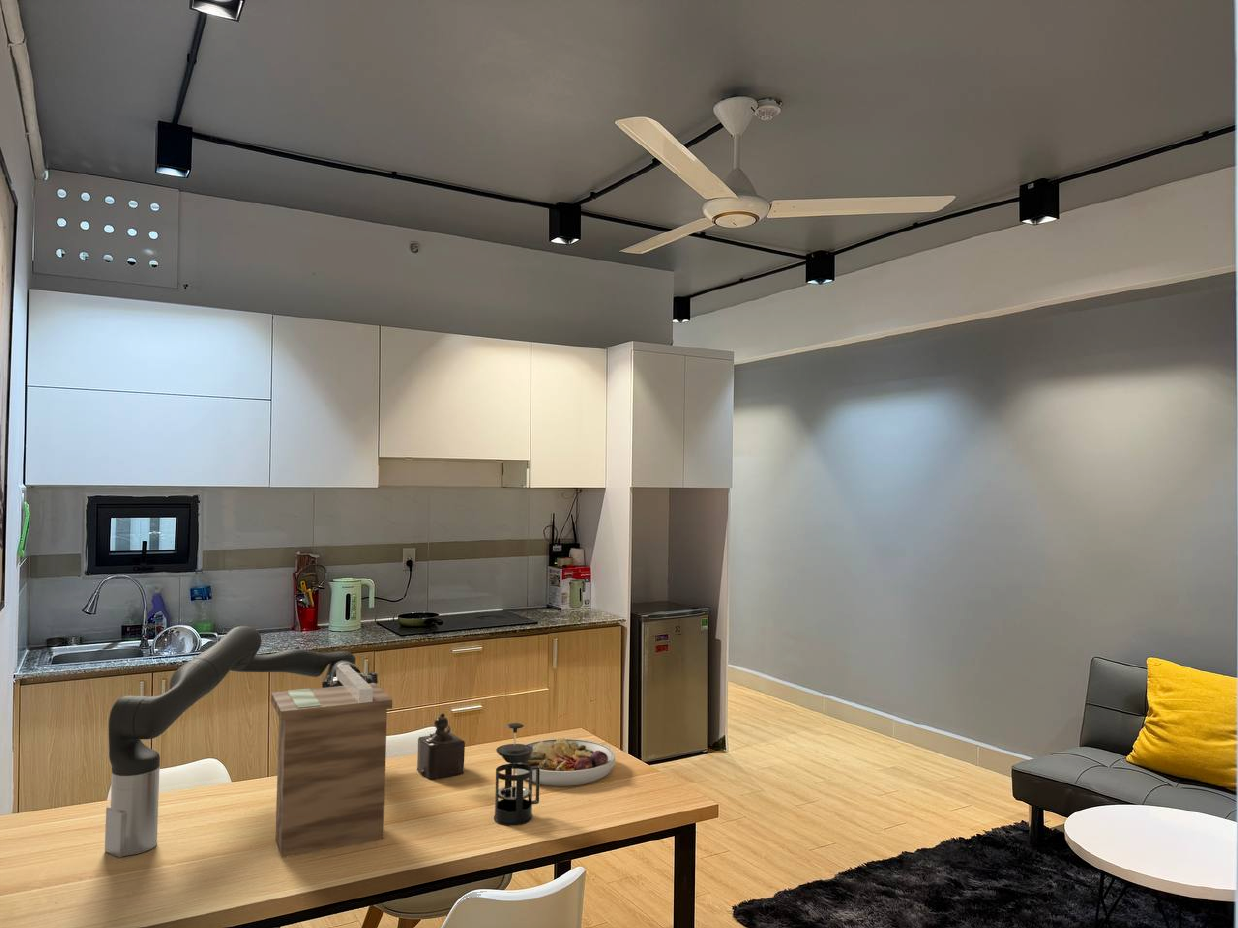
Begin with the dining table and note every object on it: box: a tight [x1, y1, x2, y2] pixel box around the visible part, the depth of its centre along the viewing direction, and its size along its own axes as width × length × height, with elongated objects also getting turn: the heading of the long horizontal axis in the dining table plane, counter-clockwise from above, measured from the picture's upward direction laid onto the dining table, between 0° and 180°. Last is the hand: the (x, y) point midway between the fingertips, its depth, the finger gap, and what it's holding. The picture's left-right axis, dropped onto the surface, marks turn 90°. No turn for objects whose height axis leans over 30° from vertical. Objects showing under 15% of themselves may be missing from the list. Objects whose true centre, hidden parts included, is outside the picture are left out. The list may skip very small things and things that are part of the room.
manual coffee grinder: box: [416, 712, 466, 781], centre depth 235 cm, size 16×11×18 cm
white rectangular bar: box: [336, 665, 373, 703], centre depth 201 cm, size 28×3×3 cm, turn 29°
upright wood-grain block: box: [270, 683, 393, 859], centre depth 193 cm, size 18×24×32 cm
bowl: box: [515, 737, 616, 787], centre depth 240 cm, size 30×30×8 cm
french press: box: [493, 722, 540, 827], centre depth 205 cm, size 12×9×23 cm
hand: (352, 685), depth 218 cm, fingers open, 8 cm apart
